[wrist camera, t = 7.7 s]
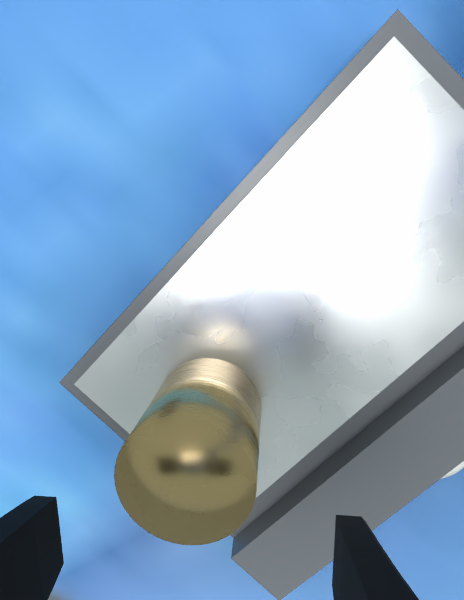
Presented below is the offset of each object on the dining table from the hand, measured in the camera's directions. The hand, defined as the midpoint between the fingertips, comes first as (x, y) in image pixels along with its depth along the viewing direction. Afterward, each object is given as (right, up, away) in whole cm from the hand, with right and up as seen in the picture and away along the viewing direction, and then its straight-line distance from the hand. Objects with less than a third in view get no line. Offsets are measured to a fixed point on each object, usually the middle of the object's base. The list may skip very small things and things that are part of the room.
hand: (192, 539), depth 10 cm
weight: (0, +1, +7) cm, 7 cm away
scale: (+5, +5, +9) cm, 12 cm away
